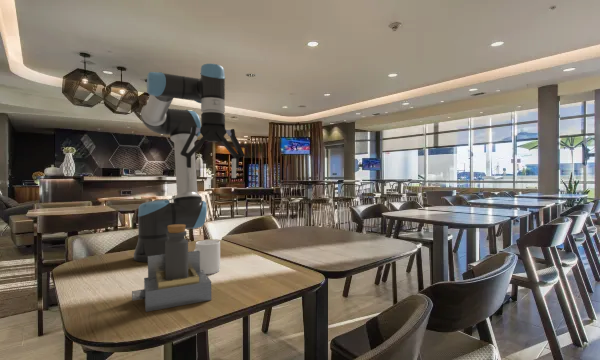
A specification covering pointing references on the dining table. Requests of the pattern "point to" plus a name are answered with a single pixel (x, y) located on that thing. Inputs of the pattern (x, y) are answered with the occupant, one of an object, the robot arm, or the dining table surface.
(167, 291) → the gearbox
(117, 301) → the dining table surface
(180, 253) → the bottle
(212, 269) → the mug
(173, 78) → the robot arm
